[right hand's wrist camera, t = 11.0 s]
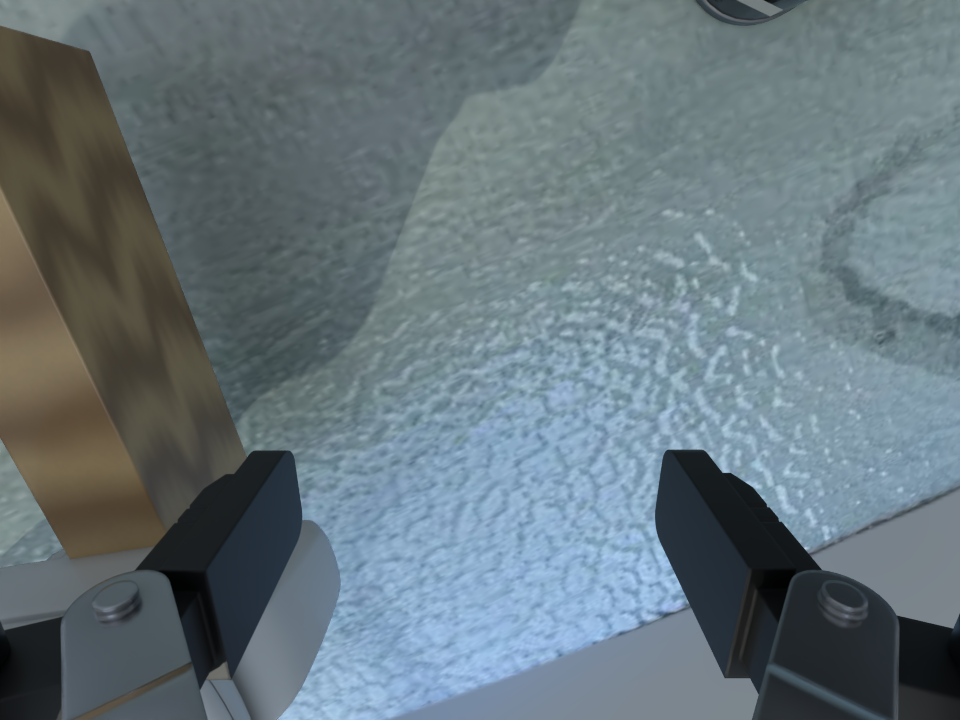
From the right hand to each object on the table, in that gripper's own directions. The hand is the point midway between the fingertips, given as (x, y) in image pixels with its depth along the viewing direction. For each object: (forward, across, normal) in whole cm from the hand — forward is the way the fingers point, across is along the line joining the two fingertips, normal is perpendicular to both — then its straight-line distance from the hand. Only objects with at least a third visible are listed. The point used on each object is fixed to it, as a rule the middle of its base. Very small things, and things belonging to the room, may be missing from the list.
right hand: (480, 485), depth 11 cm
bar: (+19, -18, -2) cm, 26 cm away
